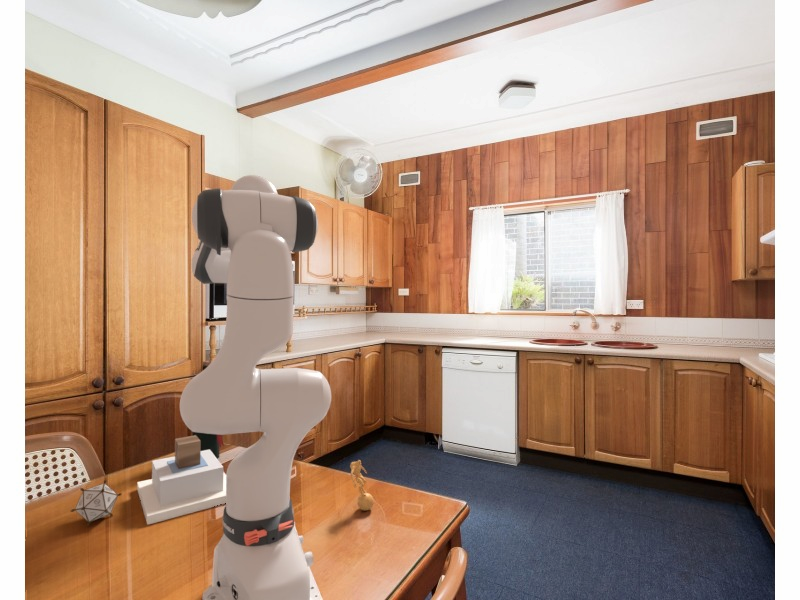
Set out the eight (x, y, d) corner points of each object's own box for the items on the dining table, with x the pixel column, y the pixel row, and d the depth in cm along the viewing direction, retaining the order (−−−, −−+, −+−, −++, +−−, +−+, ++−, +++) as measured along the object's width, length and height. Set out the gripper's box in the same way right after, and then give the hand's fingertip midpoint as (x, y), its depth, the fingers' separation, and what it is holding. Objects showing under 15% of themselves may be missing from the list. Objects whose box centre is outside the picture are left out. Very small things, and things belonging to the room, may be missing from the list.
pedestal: (238, 499, 109) (239, 467, 109) (147, 524, 97) (147, 488, 97) (218, 471, 125) (218, 443, 125) (137, 489, 113) (137, 458, 113)
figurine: (368, 519, 101) (369, 469, 101) (343, 516, 102) (344, 466, 102) (377, 502, 109) (378, 455, 109) (355, 499, 111) (356, 452, 110)
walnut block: (200, 464, 110) (200, 440, 110) (178, 468, 107) (178, 444, 107) (196, 457, 114) (196, 435, 114) (174, 462, 111) (174, 438, 111)
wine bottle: (212, 466, 128) (213, 365, 127) (185, 460, 132) (186, 362, 131) (231, 456, 136) (231, 360, 135) (205, 451, 139) (205, 358, 138)
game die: (99, 530, 101) (116, 484, 107) (117, 528, 97) (134, 480, 102) (56, 525, 95) (77, 477, 101) (73, 522, 91) (94, 472, 96)
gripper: (221, 293, 131) (221, 338, 132) (242, 295, 115) (242, 347, 116) (243, 293, 135) (242, 337, 136) (266, 295, 119) (265, 346, 119)
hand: (242, 342), depth 126 cm, fingers open, 8 cm apart
